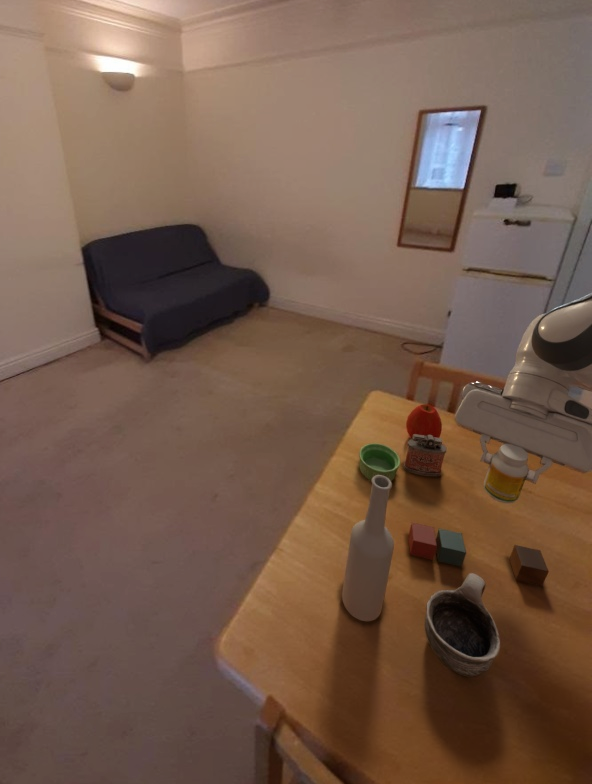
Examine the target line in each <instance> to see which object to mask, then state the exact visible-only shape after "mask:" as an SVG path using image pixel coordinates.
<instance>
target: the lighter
mask: <svg viewBox="0 0 592 784" xmlns="http://www.w3.org/2000/svg"><path fill="white" fill-rule="evenodd" d="M447 450H448V449H447V446H446V445H445V444H443V438H440V437H439V438H436V437H433V436H432V435H427V436H424V435H417V434H414V435H413V437H412V439H411V438H410V439H409V440H408V441H407V449H406V455H405V460H404V462H403V469H404V470H405V471H406V472H409V473H412V474H415V475H420V476H426V477H440V476H441V474H442V466H443V463H444V458H445V454H447Z"/></svg>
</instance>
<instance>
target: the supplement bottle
mask: <svg viewBox="0 0 592 784" xmlns="http://www.w3.org/2000/svg"><path fill="white" fill-rule="evenodd" d="M492 455H493V456H492V459H491V462H490V465H488V468H487V470H486V474H485V477H484V480H483V484H482V485H483V489H484V492H486V494H487V495H488V496H489V497H490V498H492V499H493V500H495V501H497V502H499V503H502V504H514V503H516V502H518V500H519V498H520V495H521V492H522V490H523V487H524V484H525V482H526V480H525V479H526V477H527V474H528V470H529V465H528V464H527V463H528V460H529V453H527V452H526V451H525V450H524V449H522V448H521V447H518V446H516V445H513V444H504V443H502V444H501V445H500V447H499V450H498V452H495V453H493V454H492Z"/></svg>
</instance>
